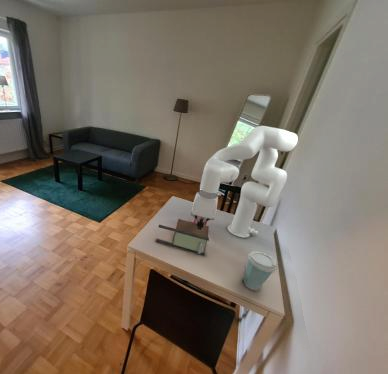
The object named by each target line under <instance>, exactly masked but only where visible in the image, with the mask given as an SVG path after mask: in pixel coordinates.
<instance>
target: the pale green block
mask: <svg viewBox="0 0 388 374" xmlns="http://www.w3.org/2000/svg"><path fill="white" fill-rule="evenodd" d="M174 234H175V233H174ZM173 239H174V243H173V242H172V243H173V245H177V246H180V247H184V248H187V249H191V250H194V251H198V253H199V254H198V255H200V253H203V251H204V252H205V250H204V248H205V249H206V247H205V244H206V245H207V243H206V240H204V239H200V238H197V237H193V236H189V235H185V234H182V233H178V232H176V234H175V238H174V237H173Z"/></svg>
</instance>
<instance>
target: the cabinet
mask: <svg viewBox="0 0 388 374" xmlns="http://www.w3.org/2000/svg"><path fill="white" fill-rule="evenodd" d="M196 225H197V223H194V221H193V222H192V221H189V220H185V219H181V218H178V219H177V222H176V225H175V228H174V227H170V226H167V225H162V224H160V223H159V224H158V227H157V228H160V229H164V230H168V231H171V232H174V235H173V239H172V242H170V241H166V240H164V239H163V240H162V239H160V238H156V240H155V242H156V243H158V244H162V245H166V246H168V247H171V248H176V249H179V250H183V251H186V252H190V253H193V254H197V255H200V256H205V255H206V252H205V250H206V246H207V242H208V241H210V237H209V229H210V226H209V225H206V226H205V225H204V226H203V228H201V230H200V229H198V227H197V226H196ZM199 228H200V227H199ZM176 232H178V233H182V234H185V235H189V236H193V237H197V238H200V239H204V240H206V244H205V248H204V251H203V253H200V254H199V253H198V251H194V250H191V249H187V248H184V247H180V246H177V245H173V243H174V238H175V234H176Z"/></svg>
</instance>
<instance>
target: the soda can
mask: <svg viewBox="0 0 388 374" xmlns="http://www.w3.org/2000/svg"><path fill="white" fill-rule="evenodd" d="M200 218H201V220H202V219H203V217H201V216H200ZM193 223H197V219H196V218H195V217H194V219H193ZM207 223H208V221H207V222H205V223H204V225H205V226H207Z"/></svg>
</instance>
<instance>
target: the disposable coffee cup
mask: <svg viewBox="0 0 388 374" xmlns="http://www.w3.org/2000/svg"><path fill="white" fill-rule="evenodd" d="M277 264H278V263H277V260H276V259H275V258H274V257H273V256H271V255H269V254H268V253H265V252H263V251H258V250H257V251H251V252H249V253H248V254H247V260H246V265H245V270H244V275H243V278H242V279H243V284H244V285H245V286H246V287H247V288H249V289H250V290H253V291H258V290H260V289H261V287H262V286H263V285H264V284H265V283H266V282H267V280H268V279H269V277H270V276H271V275H272V274H273V272H275V271H276V270H277V269H278V265H277Z"/></svg>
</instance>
